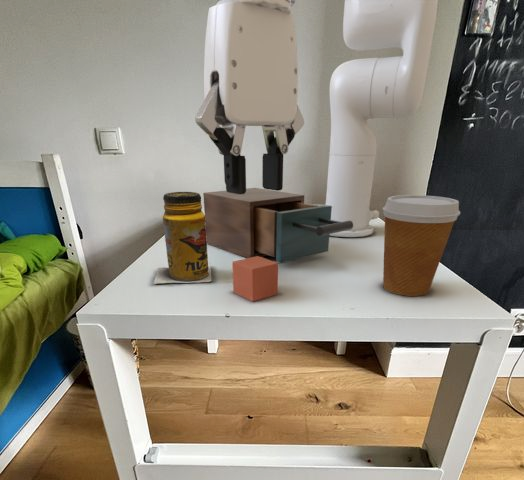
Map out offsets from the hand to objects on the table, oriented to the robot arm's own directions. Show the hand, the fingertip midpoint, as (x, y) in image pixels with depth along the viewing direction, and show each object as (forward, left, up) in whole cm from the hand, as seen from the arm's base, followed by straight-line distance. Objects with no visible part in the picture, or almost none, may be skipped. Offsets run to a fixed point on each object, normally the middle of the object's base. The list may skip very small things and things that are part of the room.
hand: (254, 189), depth 47 cm
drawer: (-16, -10, -13) cm, 23 cm away
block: (0, 0, -13) cm, 13 cm away
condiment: (+4, -13, -14) cm, 19 cm away
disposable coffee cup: (-18, +12, -14) cm, 26 cm away
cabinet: (-16, -21, -13) cm, 30 cm away
